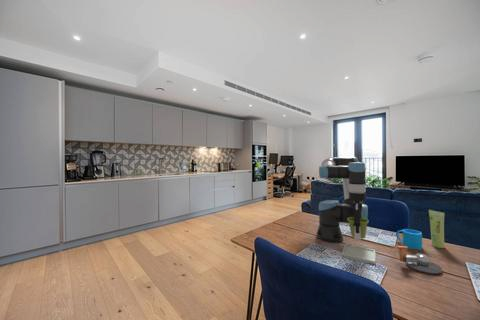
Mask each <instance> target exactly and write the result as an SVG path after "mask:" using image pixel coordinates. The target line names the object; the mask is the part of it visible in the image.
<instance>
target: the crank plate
mask: <svg viewBox="0 0 480 320" xmlns="http://www.w3.org/2000/svg"><path fill="white" fill-rule="evenodd" d="M404 263H405V265H406V266H407V267H409V268H410V269H412V270H414V271H416V272H420V273H423V274H427V275H435V276H438V274H439V275H441V274H442V273H443V271H442V270H443V269H442V267H441V266H440V265H438V264H437V263H435V262H433V261H430V260H429V266H422V265H419V264H417V263H416V262H404Z"/></svg>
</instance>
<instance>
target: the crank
mask: <svg viewBox="0 0 480 320" xmlns="http://www.w3.org/2000/svg"><path fill="white" fill-rule="evenodd" d="M396 248H397V249H399V251H398V254H399V261H401V262H403V263H405V262H416V263H417V264H419V265H422V266H429V261H430V256H429V255H426V254H424V253H420V252H419V253H415V255H408V254H407V250H409V248H408V247H407V246H404V245H403V246H401V245H397V246H396Z"/></svg>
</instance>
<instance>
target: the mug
mask: <svg viewBox="0 0 480 320" xmlns="http://www.w3.org/2000/svg"><path fill="white" fill-rule="evenodd" d="M400 233H402V238H400V236H399V234H400ZM395 236H396V238H397V240H398V241H400V242H401V243H402V245H403V246H407V247H408V249H413V250H423V233H422V231H419V230H415V229H410V228H404V229H401V230H397V231H396V233H395Z"/></svg>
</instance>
